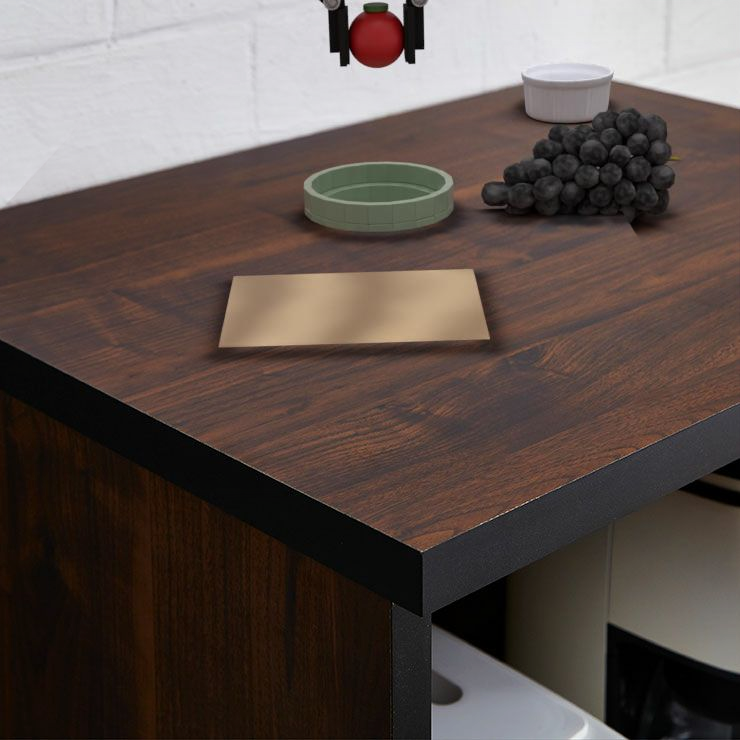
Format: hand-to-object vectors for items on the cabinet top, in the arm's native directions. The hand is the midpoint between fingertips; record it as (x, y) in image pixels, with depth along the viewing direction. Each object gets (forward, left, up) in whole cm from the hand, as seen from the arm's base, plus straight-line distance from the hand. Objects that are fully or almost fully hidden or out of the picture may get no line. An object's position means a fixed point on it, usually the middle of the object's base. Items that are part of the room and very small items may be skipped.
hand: (377, 58), depth 100 cm
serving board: (-2, -20, -13) cm, 24 cm away
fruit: (+15, 0, -13) cm, 20 cm away
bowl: (0, 0, -13) cm, 13 cm away
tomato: (0, 0, -1) cm, 1 cm away
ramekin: (+19, +33, -13) cm, 40 cm away
